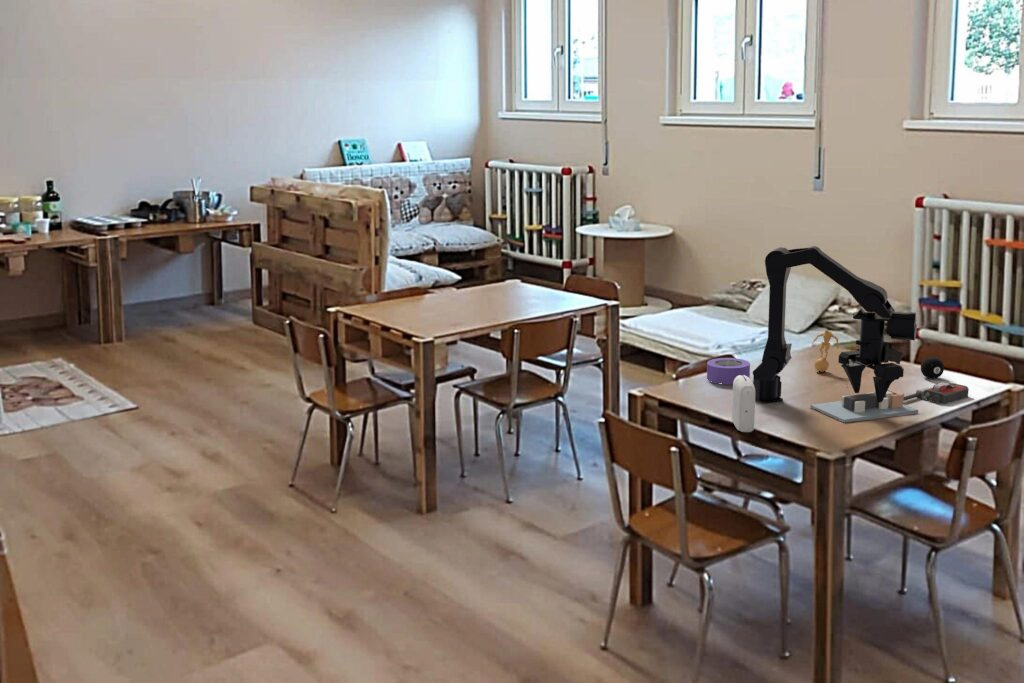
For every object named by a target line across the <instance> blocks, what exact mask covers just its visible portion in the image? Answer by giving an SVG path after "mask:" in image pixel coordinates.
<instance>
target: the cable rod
mask: <svg viewBox="0 0 1024 683" xmlns="http://www.w3.org/2000/svg"><path fill="white" fill-rule="evenodd" d="M866 393H867V394H866ZM866 393H860V394H859V393H858V394H853V395H851V396H848V395H844V396H845V399H844V408H846V409H848V410H850V411H854V408H855V401H865V409H870V408H878V407H879V402H878V401H877V397H876V392H875V391H874V393H872V392H866ZM891 395H893V393H892V392H889V391H887V392H886V395H885V397H884V398H889V400H888V406H890V401H891Z"/></svg>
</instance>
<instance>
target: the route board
mask: <svg viewBox="0 0 1024 683" xmlns="http://www.w3.org/2000/svg"><path fill="white" fill-rule="evenodd" d="M867 393H868V392H866V393H865V394H867ZM871 393H875V391H874V392H871ZM845 396H846V395H842V396H841V400H839V401H837V400H836V401H830V402H824V403H823V402H822V403H814V404H810V406H809V408H810V407H811V408H810V409H812V408H814V409H816V410H818V411H821V412H823V413H825V414H827V415H829V416H828V417H830V416H831V417H830V418H832V417H834V418H835V420H836V419H838V420H837V421H838V422H841V423H843V422H844V423H843V424H846V423H852V422H853V421H854V422H860V421H861V422H862V421H868V420H874V419H876V420H877V419H883V418H890V417H899V416H904V415H912V414H918V413H919V409H917V408H915V407H912V406H910V405H908V404H907V405H906V404H904V403H903V407H898V408H890V406H888V400H889V398H884V399H883V401H882V402H879V407H878V408H870V409H865V401H855V408H854V411H850V410H848V409H846V408H844V399H845ZM847 396H851V395H847ZM814 409H813V410H814ZM816 410H815V411H816ZM818 411H817V412H818ZM821 412H820V413H821ZM823 413H822V414H823ZM825 414H824V415H825ZM827 415H826V416H827ZM834 418H833V419H834ZM845 422H846V423H845Z"/></svg>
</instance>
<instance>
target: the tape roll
mask: <svg viewBox="0 0 1024 683" xmlns="http://www.w3.org/2000/svg"><path fill="white" fill-rule="evenodd" d="M750 374H751V362H749V361H748V360H746V359H742V358H734V357H718V358H713V359H709V360H708V361H707V363H706V380H707V379H708V380H710V381H712V382H716V383H722V384H721V385H723V384H733V381H734V379H735V378H736V377H737V376H739V375H741V376H743V375H745V376H747V377H749V378H750V377H751V375H750ZM750 379H751V378H750ZM708 380H707V381H708ZM710 381H709V382H710ZM712 382H711V383H712ZM716 383H715V384H716Z"/></svg>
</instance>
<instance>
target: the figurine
mask: <svg viewBox="0 0 1024 683" xmlns="http://www.w3.org/2000/svg"><path fill="white" fill-rule="evenodd" d="M819 337H822V338H823V341H821V344H820V347H819V352H820V356H819V357H818V359H816V360H814V361H815V362H814V364H813V366H814V369H815V370H816V371H817V372H819V371H820V372H819V373H825V372H826V371H828V370H829V367H830V364H829V361H828V360H827V357H828V354H829V349H830V347H831V343H830V340H831V338H833V339H834V340H835V341H836V346H835V348H836V350H838V349H839V338H838V337H837V336H835V335H834V334H833V333H832V331H830V330H829V329H828V330H827V329H825V330H824V332H822V333H819V334H817V335H816V337H815V338H814V339H813V341H812V343H811V345H813V344H814V343H815V342H816V341H817V339H818V338H819ZM823 349H824V350H823ZM824 351H825V355H824V357H823V354H824ZM824 371H825V372H824Z"/></svg>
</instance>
